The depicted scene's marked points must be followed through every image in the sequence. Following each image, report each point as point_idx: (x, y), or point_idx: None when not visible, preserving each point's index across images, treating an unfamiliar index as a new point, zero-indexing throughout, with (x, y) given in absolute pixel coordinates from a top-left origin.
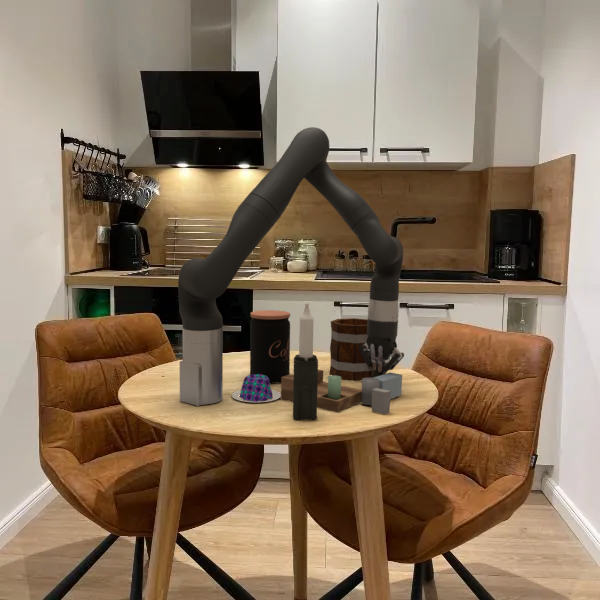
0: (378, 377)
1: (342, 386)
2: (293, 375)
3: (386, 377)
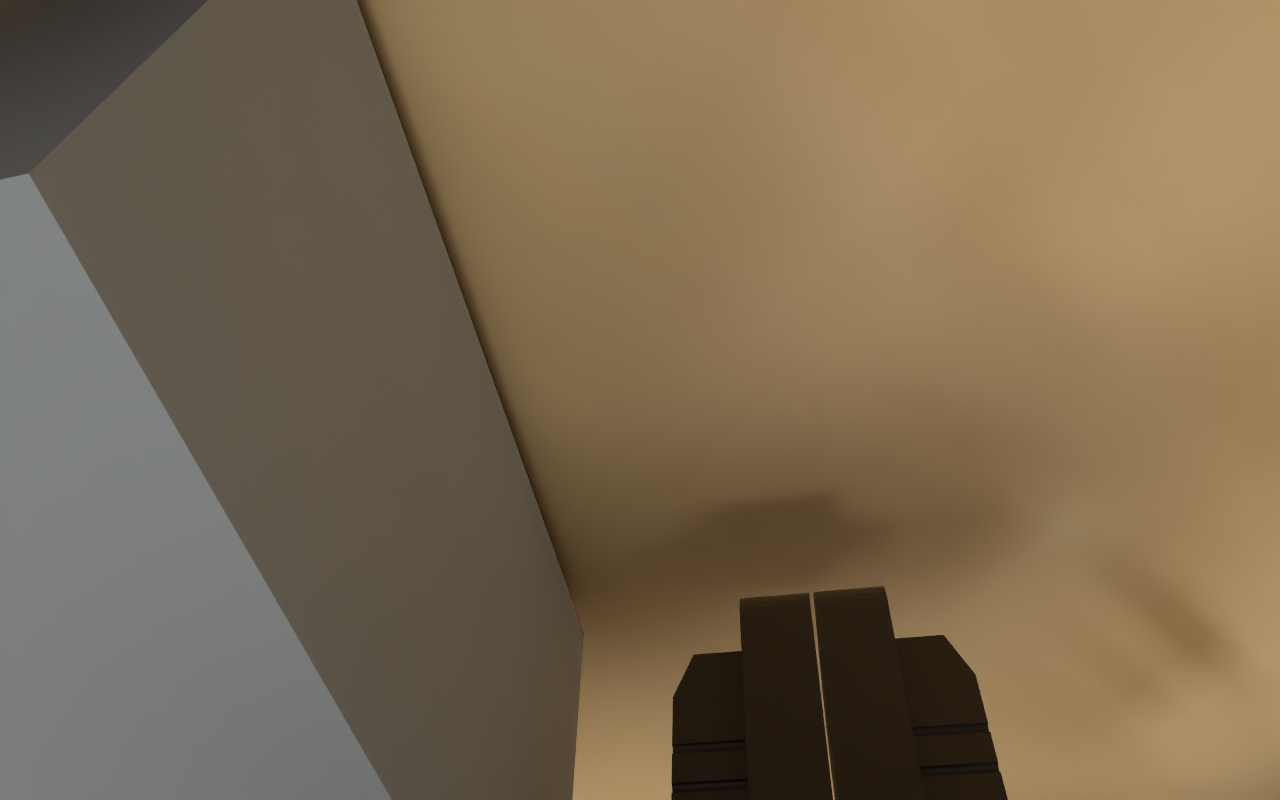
0: (98, 567)
1: None
2: None
3: (18, 758)
